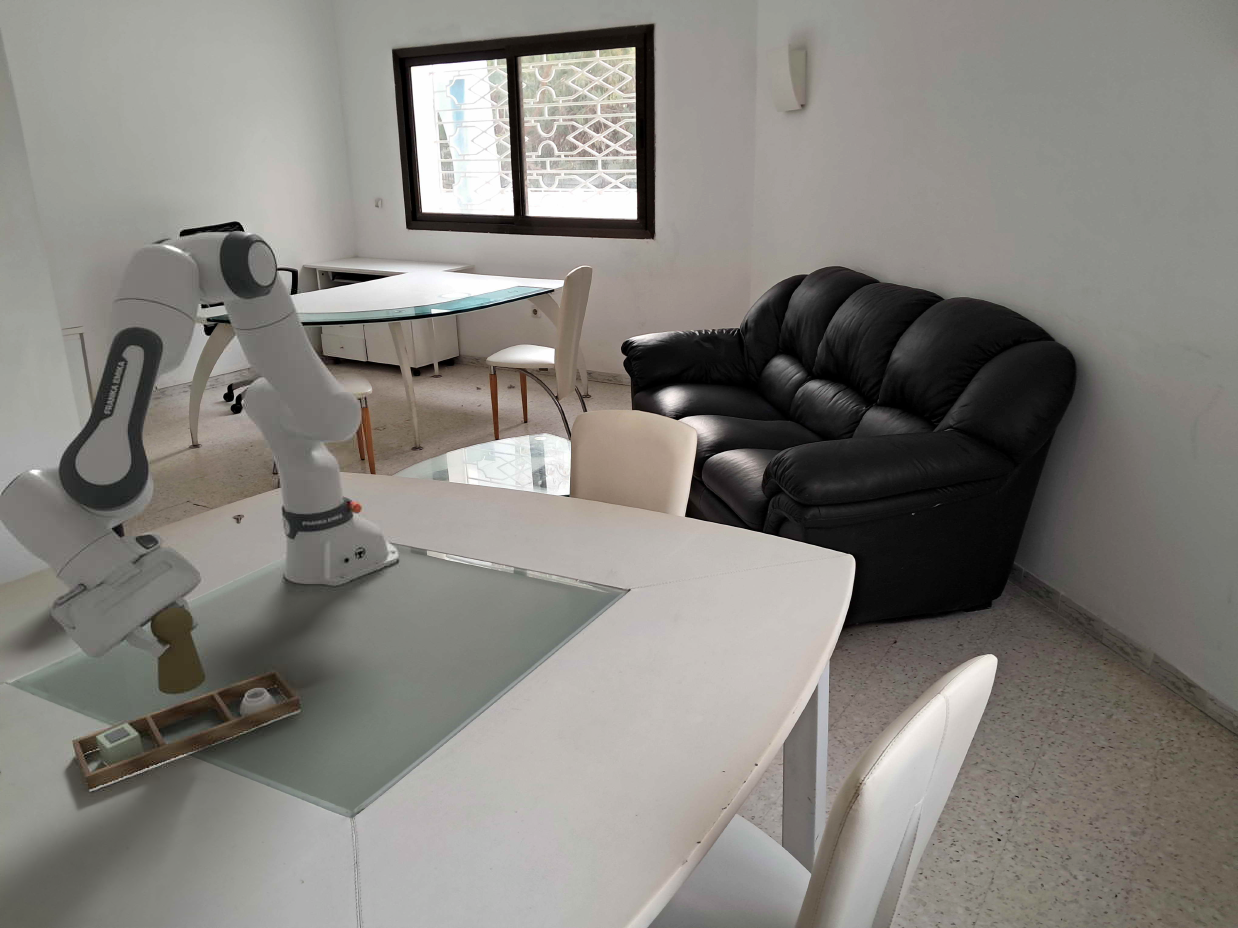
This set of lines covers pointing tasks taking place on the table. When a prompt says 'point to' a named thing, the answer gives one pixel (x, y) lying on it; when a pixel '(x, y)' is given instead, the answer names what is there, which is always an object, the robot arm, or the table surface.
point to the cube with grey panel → (119, 744)
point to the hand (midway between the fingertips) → (179, 640)
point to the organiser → (196, 740)
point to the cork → (177, 652)
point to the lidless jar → (256, 701)
